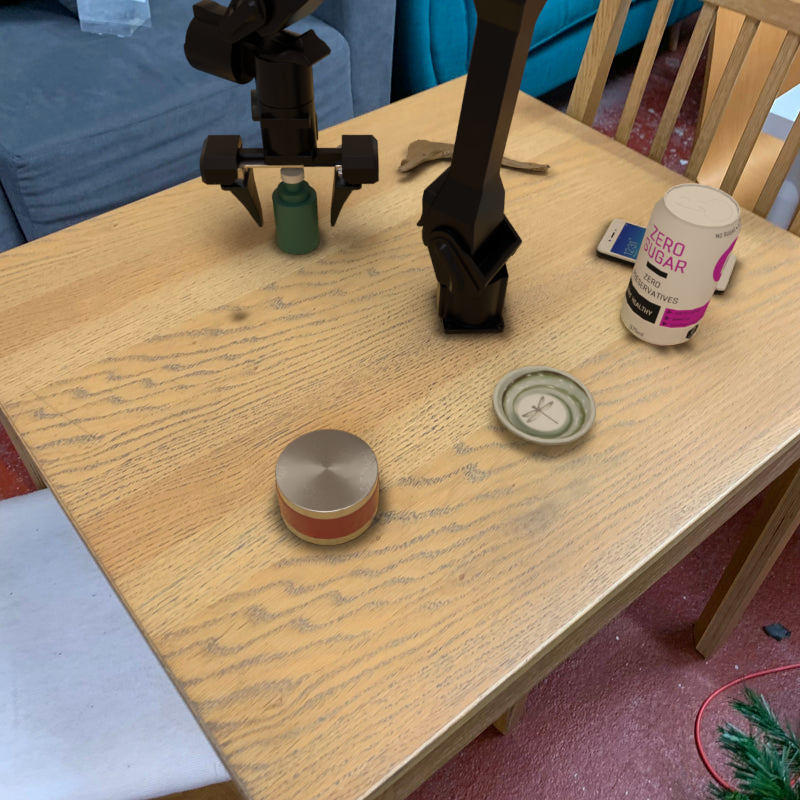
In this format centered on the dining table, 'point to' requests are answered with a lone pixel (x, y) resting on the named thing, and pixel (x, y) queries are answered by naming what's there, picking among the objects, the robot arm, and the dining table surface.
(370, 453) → the tin
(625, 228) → the smartphone
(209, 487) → the dining table surface
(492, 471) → the dining table surface
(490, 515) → the dining table surface
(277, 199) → the bottle
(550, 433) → the saucer
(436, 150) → the jawbone
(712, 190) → the supplement can
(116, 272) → the dining table surface
